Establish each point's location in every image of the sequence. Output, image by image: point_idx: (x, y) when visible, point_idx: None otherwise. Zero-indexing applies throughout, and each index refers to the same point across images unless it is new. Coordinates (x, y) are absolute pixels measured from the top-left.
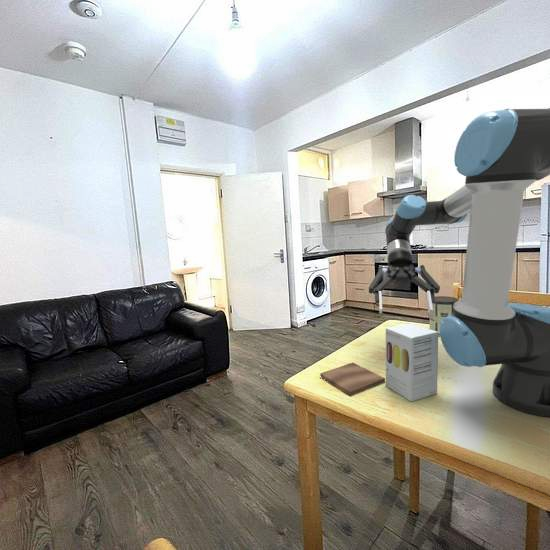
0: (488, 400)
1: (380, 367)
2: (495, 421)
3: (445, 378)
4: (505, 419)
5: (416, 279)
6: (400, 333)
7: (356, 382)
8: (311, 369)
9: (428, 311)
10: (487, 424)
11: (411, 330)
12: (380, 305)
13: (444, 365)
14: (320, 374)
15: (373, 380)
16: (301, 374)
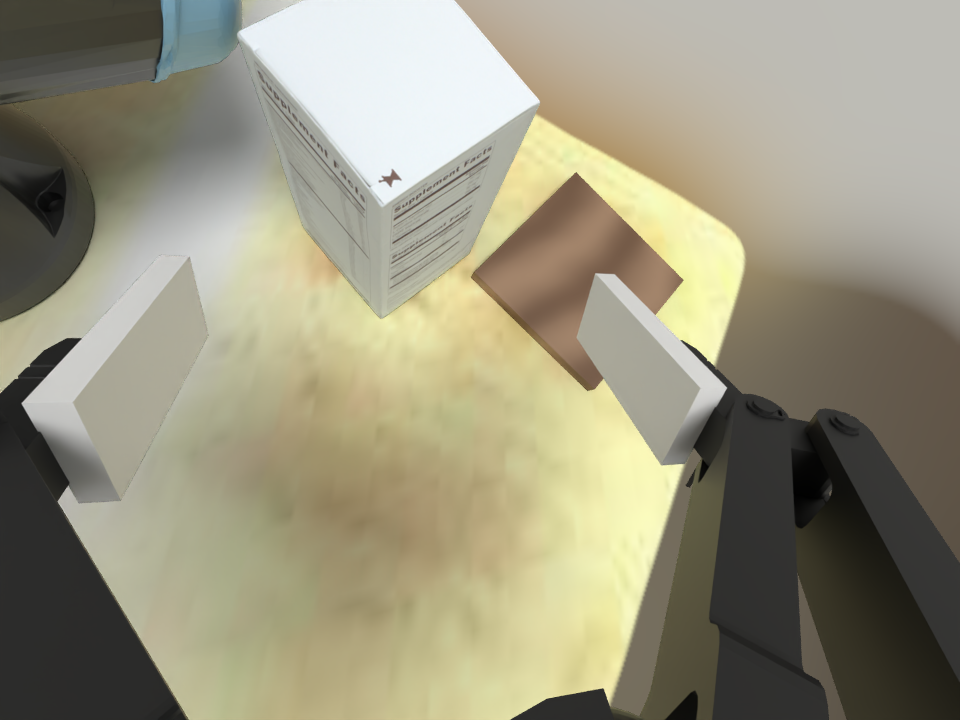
0: (134, 194)
1: (486, 397)
2: (168, 84)
3: (240, 339)
4: (131, 95)
5: (132, 643)
6: (464, 13)
7: (564, 231)
8: (715, 337)
9: (199, 344)
10: (200, 71)
11: (399, 46)
12: (622, 291)
13: (205, 472)
14: (680, 281)
15: (512, 251)
16: (733, 296)
